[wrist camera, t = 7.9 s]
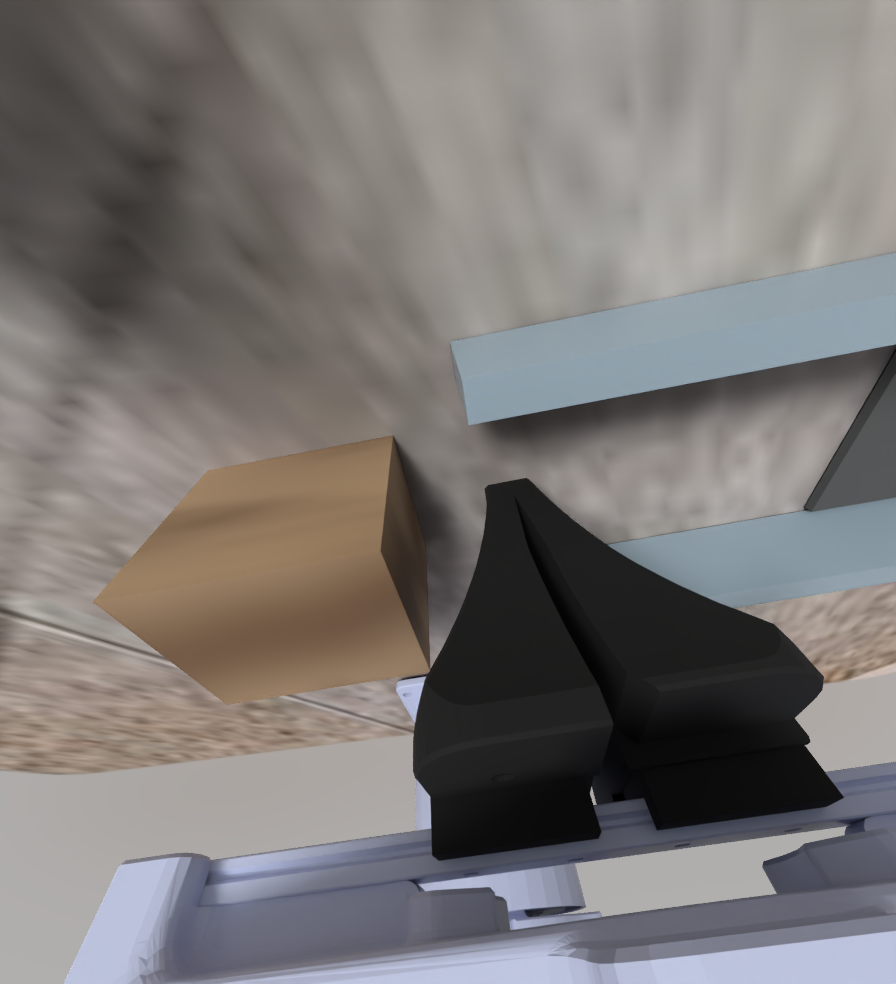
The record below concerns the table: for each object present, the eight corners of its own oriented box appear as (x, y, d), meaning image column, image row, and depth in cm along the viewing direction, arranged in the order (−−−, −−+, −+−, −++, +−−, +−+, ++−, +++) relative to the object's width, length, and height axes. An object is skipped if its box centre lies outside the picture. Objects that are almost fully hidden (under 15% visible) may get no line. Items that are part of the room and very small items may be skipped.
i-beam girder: (965, 499, 14) (1076, 552, 12) (487, 580, 15) (500, 645, 13) (1262, 179, 8) (1603, 156, 6) (449, 341, 9) (461, 379, 7)
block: (425, 545, 14) (430, 671, 10) (280, 570, 14) (226, 704, 10) (393, 434, 11) (379, 550, 7) (209, 469, 11) (92, 602, 7)
